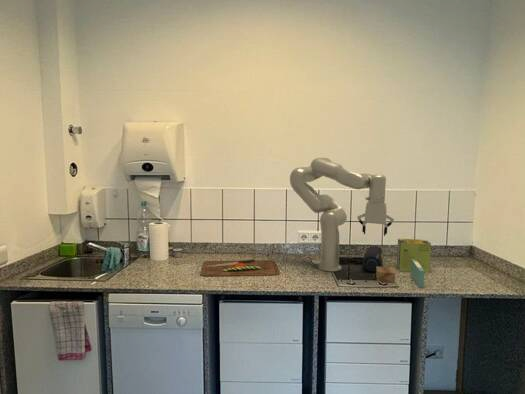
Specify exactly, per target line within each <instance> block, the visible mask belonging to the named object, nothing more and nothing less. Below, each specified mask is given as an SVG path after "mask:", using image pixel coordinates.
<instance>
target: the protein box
mask: <svg viewBox="0 0 525 394" xmlns="http://www.w3.org/2000/svg"><path fill="white" fill-rule="evenodd" d="M431 249H432V244H431V242H430V241H429V240H428V239H420V238H419V239H417V238H397V250H396V251H397V252H396V253H397V256H396V257H397V258H396V267H397V269H398V271H401V272H411V259H412V260H416V261H417V262H418V263H419V264H420V265H421V267H422V268H423V270H424V271H425V273H426V274H427V273H428V274H429V273H430V268H431V252H432V251H431ZM425 273H424V274H425Z"/></svg>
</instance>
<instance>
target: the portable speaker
mask: <svg viewBox="0 0 525 394" xmlns="http://www.w3.org/2000/svg"><path fill="white" fill-rule="evenodd" d="M383 261H384V251H383V249H382V248H381V247H379V246H377V245H371V246H368V247H367V249H366V250H365V252H364V255H363V257H362V264H363V265H362V266H363V268H364V269H365V270H366V271H368V272H376V266H378V267H383Z"/></svg>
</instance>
